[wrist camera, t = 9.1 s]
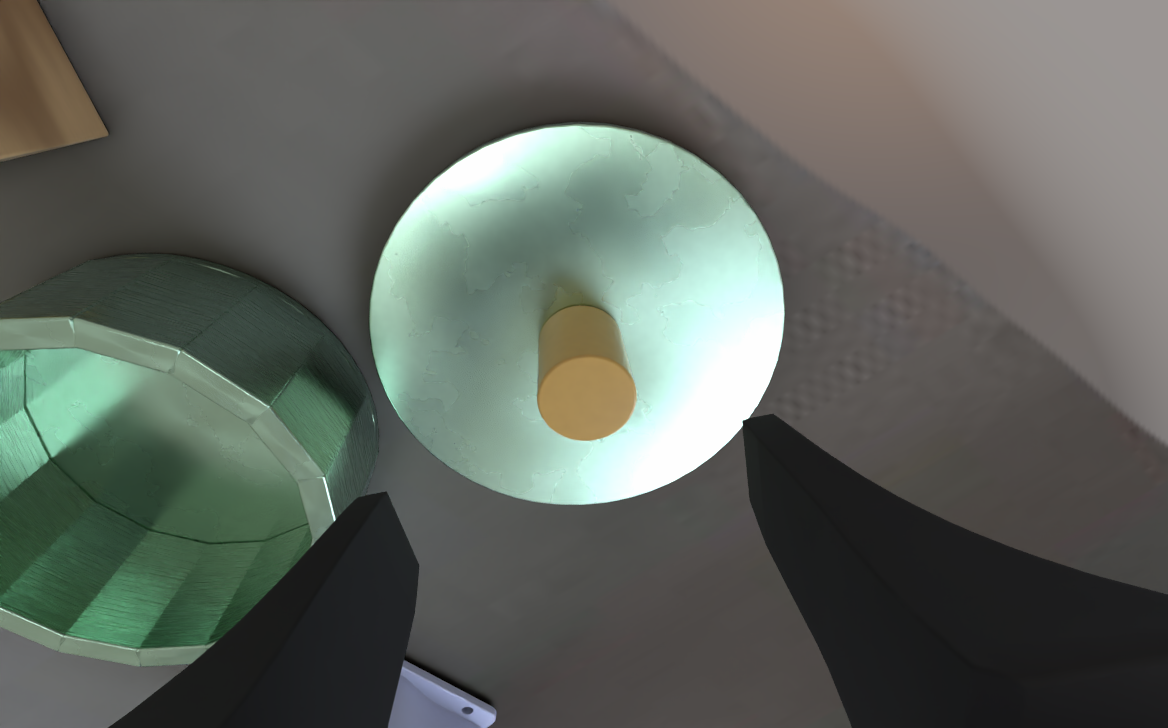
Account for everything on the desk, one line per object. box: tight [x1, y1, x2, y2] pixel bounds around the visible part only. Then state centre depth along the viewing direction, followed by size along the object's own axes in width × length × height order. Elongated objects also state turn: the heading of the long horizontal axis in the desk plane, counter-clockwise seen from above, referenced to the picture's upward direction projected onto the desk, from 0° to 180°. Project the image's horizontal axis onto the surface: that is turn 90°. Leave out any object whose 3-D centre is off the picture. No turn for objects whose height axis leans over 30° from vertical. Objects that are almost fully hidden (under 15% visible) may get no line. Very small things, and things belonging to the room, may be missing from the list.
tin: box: [0, 253, 379, 667], centre depth 19 cm, size 12×12×5 cm
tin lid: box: [369, 122, 785, 505], centre depth 18 cm, size 13×13×4 cm
